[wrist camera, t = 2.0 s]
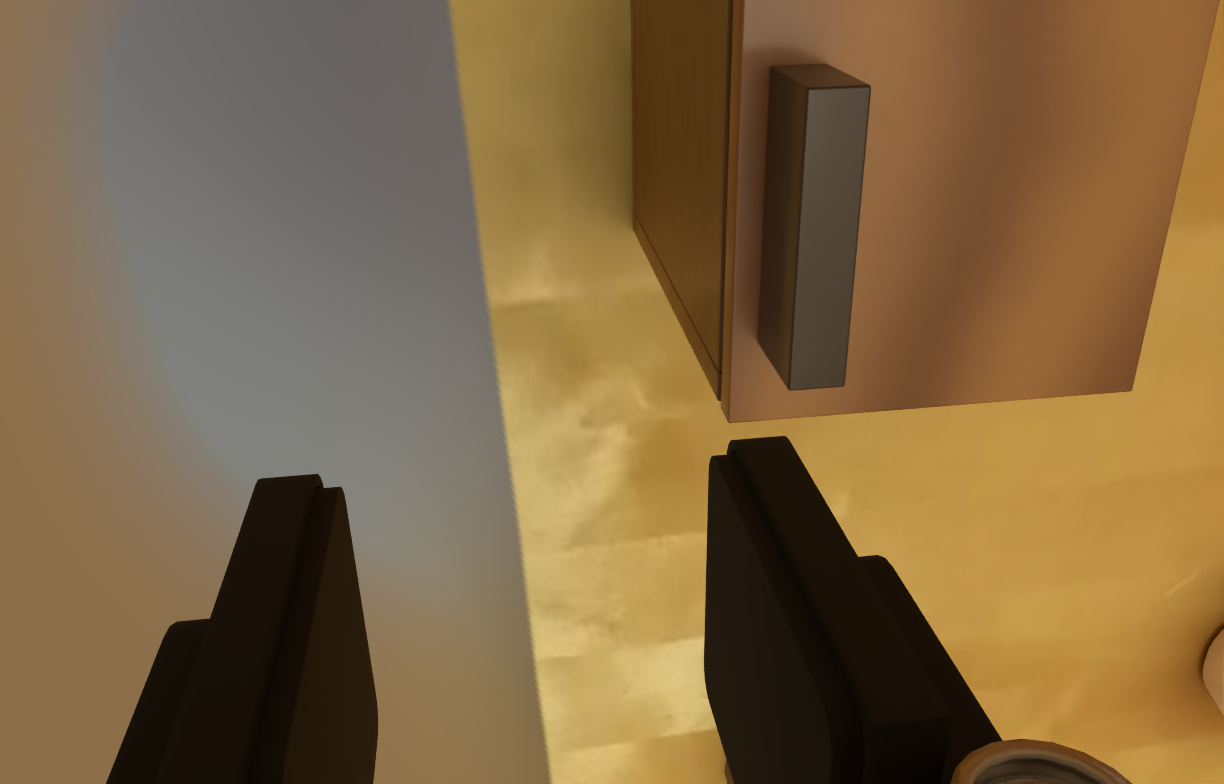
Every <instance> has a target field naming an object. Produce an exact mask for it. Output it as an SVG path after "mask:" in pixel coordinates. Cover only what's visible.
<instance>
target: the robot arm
mask: <svg viewBox="0 0 1224 784" xmlns="http://www.w3.org/2000/svg"><path fill="white" fill-rule="evenodd" d="M704 673H705V683H706V690H707V695H708V699H709V703H710V706H711V710H712V713H713V716H714V719H715V723H716V726H717V729H718V733H719V736H720V739H721V743H722V746H723V749H724V752H725V756H726V759H727V762H728V766H729V769H730V772H731V776H732V779H733V782H734V784H1132V783H1131V782H1130V781H1128V780H1127V779H1126V778H1125V777H1123V776H1122V775H1121V774H1120V773H1119V772H1117V771H1116V770H1115V769H1114V768H1112V767H1110V766H1108V765H1106V764H1104V763H1103V762H1101V761H1099V760H1097V759H1095V758H1093V757H1091V756H1090V755H1088V754H1086V753H1084V752H1081V751H1078V750H1075V749H1072V748H1069V747H1065V746H1062V745H1059V744H1056V743H1053V742H1045V741H1036V740H1027V739H1015V740H1007V741H1002V739H1001V737H1000V736H999V734H998V733H997V731H996V730H995V728H994V726H993V725H992V723H991V722H990V720H989V718H988V717H987V715H986V714H985V712H984V711H983V709H982V707H981V706H980V704H979V703H978V701H977V699H976V698H975V696H974V695H973V693H972V692H971V690H970V688H969V687H968V685H967V684H966V682H965V680H964V679H963V677H962V676H961V674H960V673H959V671H958V669H957V668H956V666H955V665H954V663H953V661H952V660H951V658H950V657H949V655H948V654H947V652H946V650H945V649H944V647H943V646H942V644H941V642H940V641H939V639H938V638H937V636H936V635H935V633H934V631H933V630H932V628H931V627H930V625H929V623H928V622H927V620H926V619H925V617H924V616H923V614H922V612H921V611H920V609H919V608H918V606H917V604H916V603H915V601H914V600H913V598H912V597H911V595H910V593H909V592H908V590H907V589H906V587H905V585H904V584H903V582H902V581H901V579H900V578H899V576H898V574H897V573H896V571H895V570H894V568H893V567H892V565H891V564H890V563H889V562H888V561H887V560H886V558H884V557H881V556H879V555H873V556H863V557H858V556H857V554H856V553H855V551H854V549H853V547H852V546H851V544H850V542H849V541H848V539H847V537H846V536H845V534H844V532H843V530H842V529H841V527H840V525H839V524H838V522H837V520H836V519H835V517H834V515H833V513H832V512H831V510H830V508H829V507H828V505H827V503H826V502H825V500H824V498H823V497H822V495H821V493H820V491H819V490H818V488H817V486H816V485H815V483H814V481H813V480H812V478H811V476H810V474H809V473H808V471H807V469H806V468H805V466H804V464H803V463H802V461H801V459H800V457H799V456H798V454H797V452H796V451H795V449H794V447H793V446H792V444H791V442H790V441H789V439H788V438H787V437H786V436H777V437H765V438H753V439H741V440H731V441H730V443H729V445H728V449H727V455H718V456H712V457H711V459H710V463H709V484H708V524H707V564H706V604H705V644H704ZM377 738H378V710H377V700H376V692H375V686H374V679H373V673H372V667H371V660H370V654H369V647H368V641H367V634H366V628H365V623H364V615H363V609H362V603H361V597H360V590H359V583H358V577H357V571H356V564H355V559H354V551H353V545H352V538H351V532H350V526H349V519H348V513H347V506H346V500H345V495H344V492H343V489H342V488H341V487H332V488H324V487H323V483H322V480H321V478H320V476H319V475H318V474H311V475H299V476H287V477H275V478H262V479H258V481H257V483H256V485H255V488H254V491H253V494H252V497H251V500H250V503H249V505H248V509H247V511H246V514H245V517H244V520H243V523H242V526H241V529H240V532H239V535H238V538H237V541H236V544H235V546H234V549H233V552H232V555H231V558H230V561H229V564H228V567H227V570H226V573H225V576H224V579H223V582H222V585H221V588H220V591H219V594H218V597H217V600H216V602H215V605H214V608H213V611H212V614H211V617H210V619H200V620H190V621H179V622H176V623H174V624H172V625H171V626H170V627H169V629H168V630H167V632H166V634H165V636H164V638H163V640H162V643H161V645H160V648H159V650H158V653H157V655H156V658H155V661H154V663H153V666H152V668H151V671H150V673H149V676H148V678H147V681H146V683H145V686H144V688H143V691H142V694H141V696H140V699H139V701H138V704H137V706H136V709H135V711H134V714H133V716H132V719H131V722H130V724H129V727H128V729H127V732H126V734H125V737H124V739H123V742H122V744H121V747H120V749H119V752H118V755H117V758H116V760H115V762H114V765H113V767H112V770H111V772H110V775H109V777H108V780H107V782H106V784H373V780H374V770H375V760H376V749H377Z"/></svg>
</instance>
